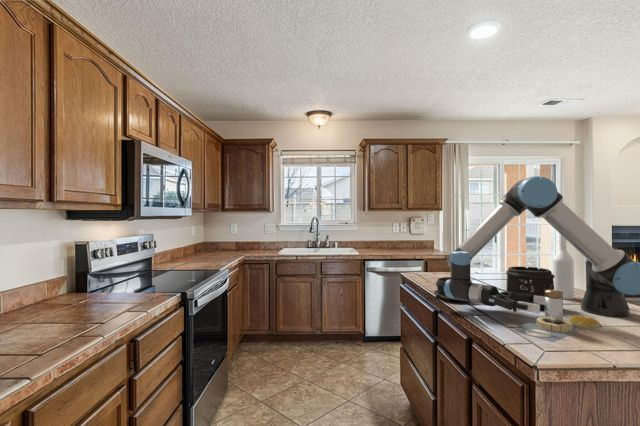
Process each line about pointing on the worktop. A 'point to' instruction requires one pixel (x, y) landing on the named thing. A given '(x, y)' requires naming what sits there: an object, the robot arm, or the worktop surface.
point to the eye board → (547, 330)
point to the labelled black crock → (530, 281)
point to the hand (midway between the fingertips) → (547, 305)
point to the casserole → (442, 287)
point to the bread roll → (584, 321)
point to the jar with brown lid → (553, 306)
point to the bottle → (563, 270)
